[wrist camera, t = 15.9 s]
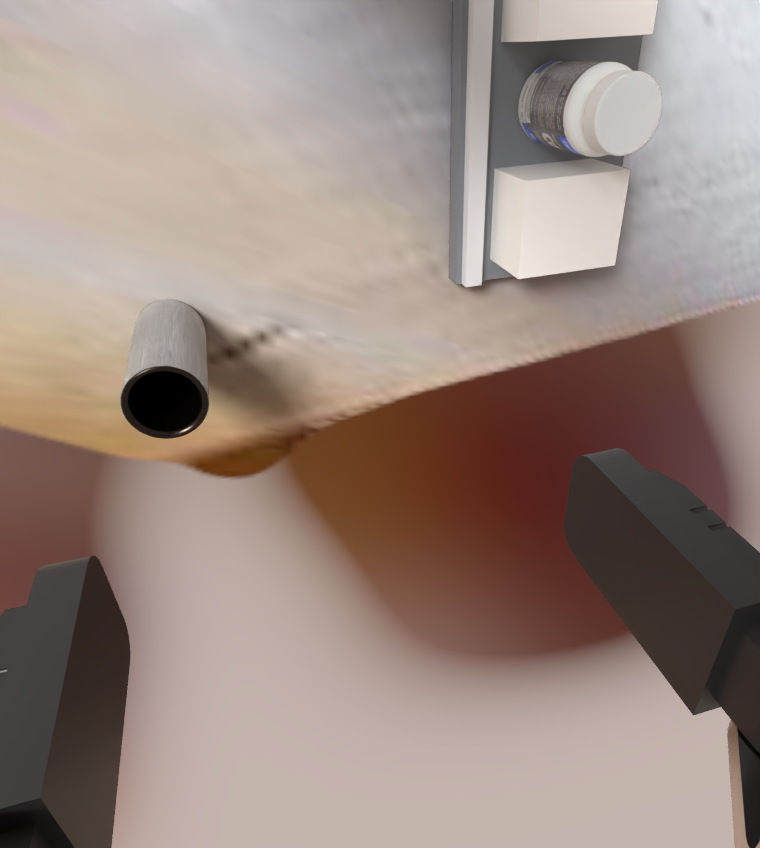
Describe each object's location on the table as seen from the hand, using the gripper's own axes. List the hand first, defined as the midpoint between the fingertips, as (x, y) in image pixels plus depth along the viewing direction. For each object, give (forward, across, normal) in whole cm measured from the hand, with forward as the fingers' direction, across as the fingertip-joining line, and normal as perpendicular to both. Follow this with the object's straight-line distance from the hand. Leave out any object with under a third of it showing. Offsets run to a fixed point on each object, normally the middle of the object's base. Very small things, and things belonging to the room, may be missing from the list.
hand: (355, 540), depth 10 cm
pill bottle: (+32, -20, -3) cm, 38 cm away
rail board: (+33, -20, -3) cm, 39 cm away
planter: (+33, +6, +9) cm, 35 cm away
